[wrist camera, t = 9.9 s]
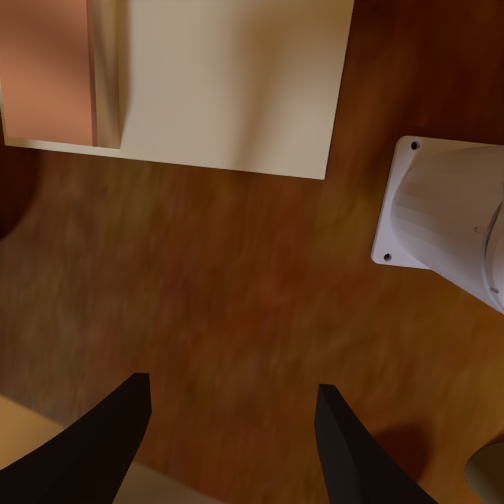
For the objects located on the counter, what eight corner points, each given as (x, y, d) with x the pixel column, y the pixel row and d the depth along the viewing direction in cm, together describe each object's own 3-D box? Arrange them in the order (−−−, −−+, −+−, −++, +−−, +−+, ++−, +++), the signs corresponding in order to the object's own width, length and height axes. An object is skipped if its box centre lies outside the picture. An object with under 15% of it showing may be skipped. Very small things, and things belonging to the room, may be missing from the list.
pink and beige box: (119, 149, 18) (92, 146, 15) (47, 141, 18) (7, 136, 15) (116, -30, 16) (82, -73, 13) (32, -39, 16) (-20, -84, 13)
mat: (370, -107, 15) (374, -118, 14) (322, 179, 19) (324, 179, 18) (-23, -146, 15) (-35, -158, 14) (12, 145, 19) (5, 145, 18)
